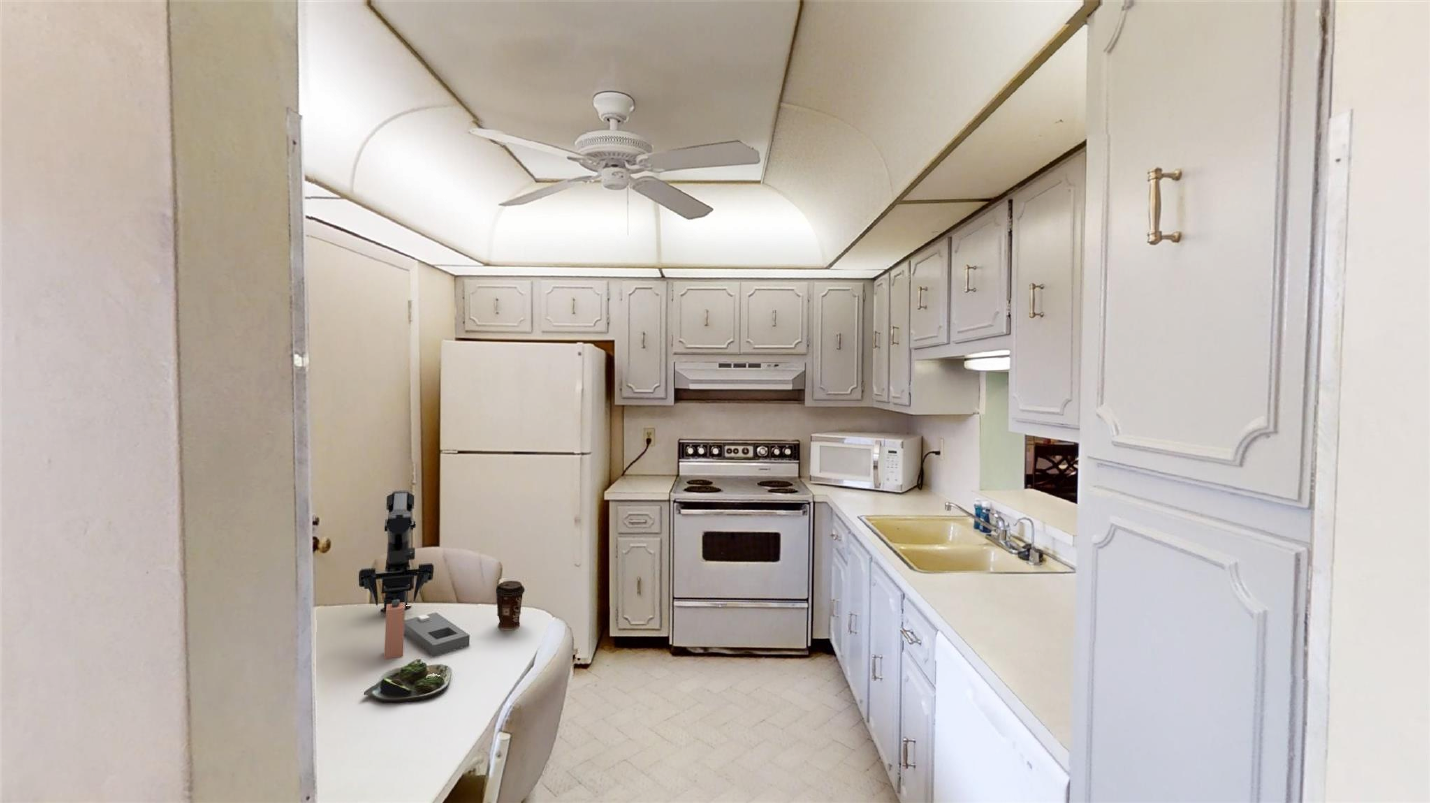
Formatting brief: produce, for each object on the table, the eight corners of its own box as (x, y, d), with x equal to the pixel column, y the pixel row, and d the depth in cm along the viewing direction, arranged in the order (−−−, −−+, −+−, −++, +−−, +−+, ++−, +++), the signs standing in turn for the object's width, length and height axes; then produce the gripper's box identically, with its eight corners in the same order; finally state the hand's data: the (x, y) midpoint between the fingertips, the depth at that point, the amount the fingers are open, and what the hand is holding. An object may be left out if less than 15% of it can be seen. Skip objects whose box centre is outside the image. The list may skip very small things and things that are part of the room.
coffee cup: (487, 628, 177) (489, 585, 177) (504, 618, 185) (506, 577, 185) (512, 633, 175) (513, 590, 175) (528, 623, 183) (530, 581, 182)
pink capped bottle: (384, 651, 159) (386, 598, 159) (403, 649, 161) (405, 596, 161) (384, 658, 155) (386, 604, 155) (403, 655, 158) (405, 602, 157)
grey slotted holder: (401, 630, 173) (401, 617, 173) (435, 621, 180) (436, 609, 180) (432, 656, 158) (433, 642, 158) (469, 645, 166) (469, 632, 166)
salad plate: (383, 668, 151) (384, 650, 151) (458, 663, 156) (459, 646, 156) (358, 708, 133) (358, 688, 132) (443, 701, 137) (444, 682, 137)
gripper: (360, 540, 163) (355, 592, 154) (434, 535, 172) (434, 584, 162) (361, 560, 170) (357, 611, 161) (432, 555, 179) (432, 603, 170)
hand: (395, 602), depth 163 cm, fingers open, 9 cm apart
